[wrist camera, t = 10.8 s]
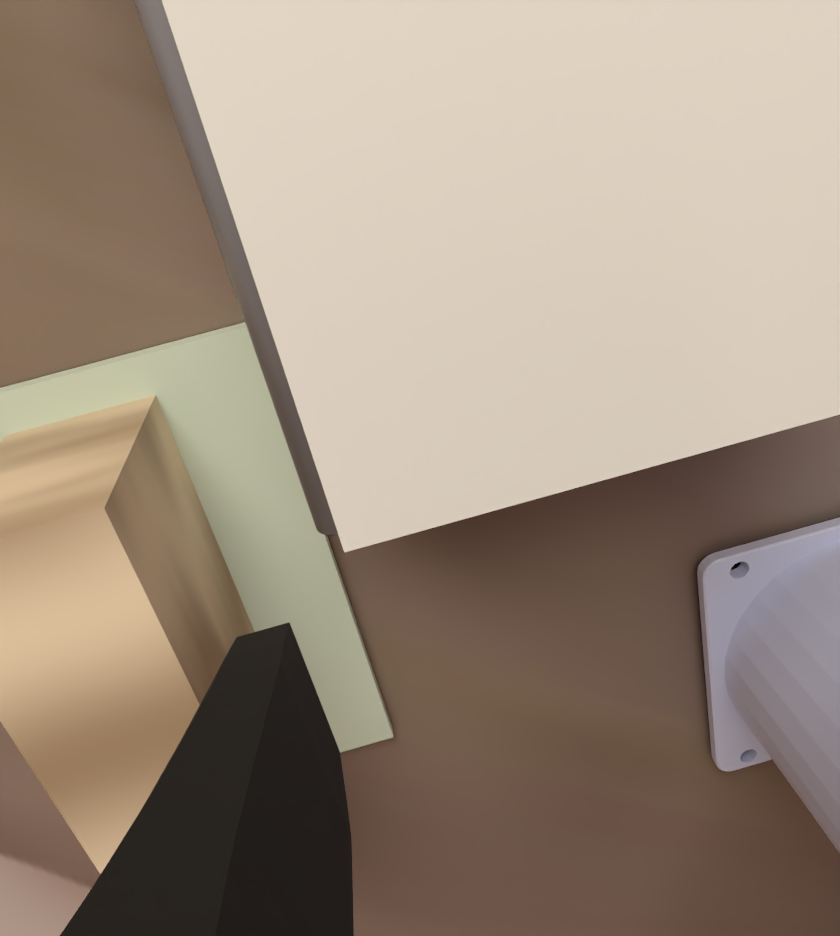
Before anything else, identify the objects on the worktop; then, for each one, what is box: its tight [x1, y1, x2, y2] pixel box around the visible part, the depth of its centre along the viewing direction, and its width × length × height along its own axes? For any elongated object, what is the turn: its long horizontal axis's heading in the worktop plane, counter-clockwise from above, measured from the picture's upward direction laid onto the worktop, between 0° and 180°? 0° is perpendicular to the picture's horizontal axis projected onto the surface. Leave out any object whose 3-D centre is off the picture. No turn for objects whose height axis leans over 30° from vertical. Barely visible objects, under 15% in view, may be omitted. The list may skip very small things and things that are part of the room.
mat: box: [0, 322, 393, 752], centre depth 19 cm, size 8×12×1 cm, turn 13°
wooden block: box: [0, 395, 255, 874], centre depth 16 cm, size 10×3×5 cm, turn 13°
